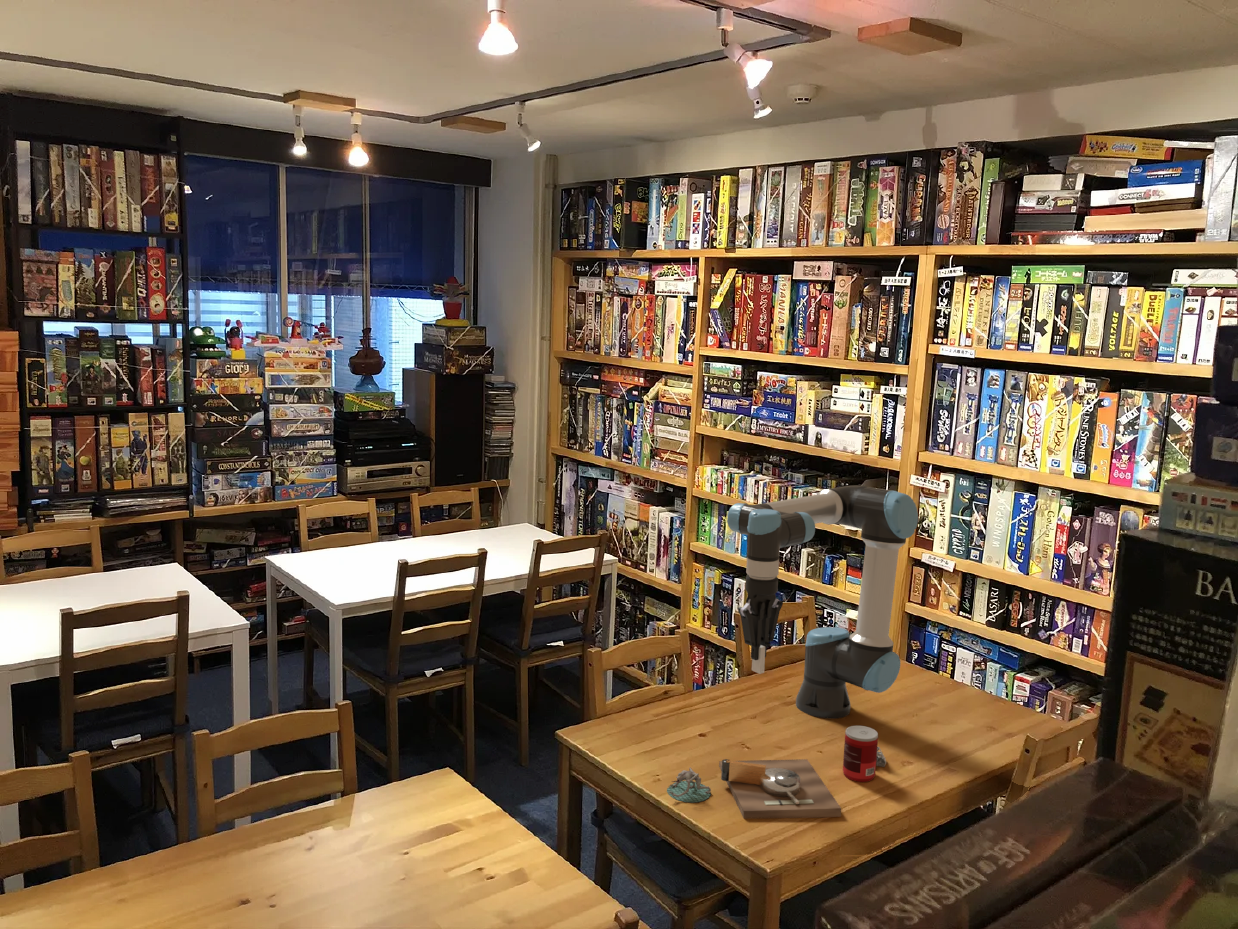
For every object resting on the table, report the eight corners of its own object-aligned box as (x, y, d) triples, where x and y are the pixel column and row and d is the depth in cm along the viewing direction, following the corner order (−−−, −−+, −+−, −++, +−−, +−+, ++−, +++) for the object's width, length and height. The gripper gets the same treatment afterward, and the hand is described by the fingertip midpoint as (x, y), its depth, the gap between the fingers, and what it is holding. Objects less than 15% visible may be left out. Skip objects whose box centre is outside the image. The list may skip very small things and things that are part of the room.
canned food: (875, 770, 233) (879, 728, 231) (874, 785, 225) (877, 741, 224) (843, 765, 235) (846, 723, 234) (841, 779, 228) (844, 736, 226)
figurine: (652, 788, 220) (654, 763, 220) (699, 780, 225) (700, 756, 224) (673, 811, 210) (674, 785, 209) (721, 803, 215) (723, 777, 214)
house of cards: (847, 771, 233) (849, 741, 232) (849, 756, 241) (851, 727, 240) (885, 777, 230) (888, 747, 229) (885, 762, 239) (888, 733, 238)
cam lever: (717, 794, 214) (718, 775, 213) (723, 770, 225) (724, 752, 225) (798, 806, 210) (800, 786, 209) (801, 781, 222) (802, 762, 221)
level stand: (718, 769, 231) (719, 760, 231) (806, 767, 234) (807, 758, 233) (743, 819, 207) (744, 809, 207) (840, 816, 210) (841, 807, 210)
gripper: (769, 568, 230) (765, 661, 234) (730, 576, 222) (727, 672, 226) (793, 575, 224) (788, 670, 228) (753, 583, 216) (749, 682, 220)
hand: (757, 671), depth 227 cm, fingers closed
